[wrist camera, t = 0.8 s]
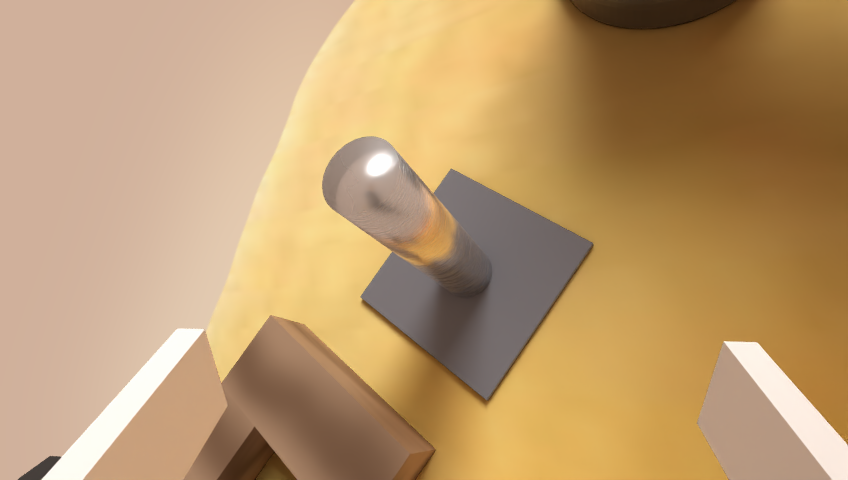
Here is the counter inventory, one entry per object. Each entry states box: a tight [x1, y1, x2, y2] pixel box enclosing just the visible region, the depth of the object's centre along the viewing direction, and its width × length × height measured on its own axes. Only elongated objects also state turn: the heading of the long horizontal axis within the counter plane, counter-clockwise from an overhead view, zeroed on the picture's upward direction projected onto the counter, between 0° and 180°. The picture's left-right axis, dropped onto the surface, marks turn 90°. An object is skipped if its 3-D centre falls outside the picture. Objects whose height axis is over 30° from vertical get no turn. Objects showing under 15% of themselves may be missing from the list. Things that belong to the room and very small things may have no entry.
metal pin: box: [322, 136, 492, 298], centre depth 25 cm, size 4×4×15 cm
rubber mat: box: [361, 169, 593, 400], centre depth 32 cm, size 12×12×1 cm
